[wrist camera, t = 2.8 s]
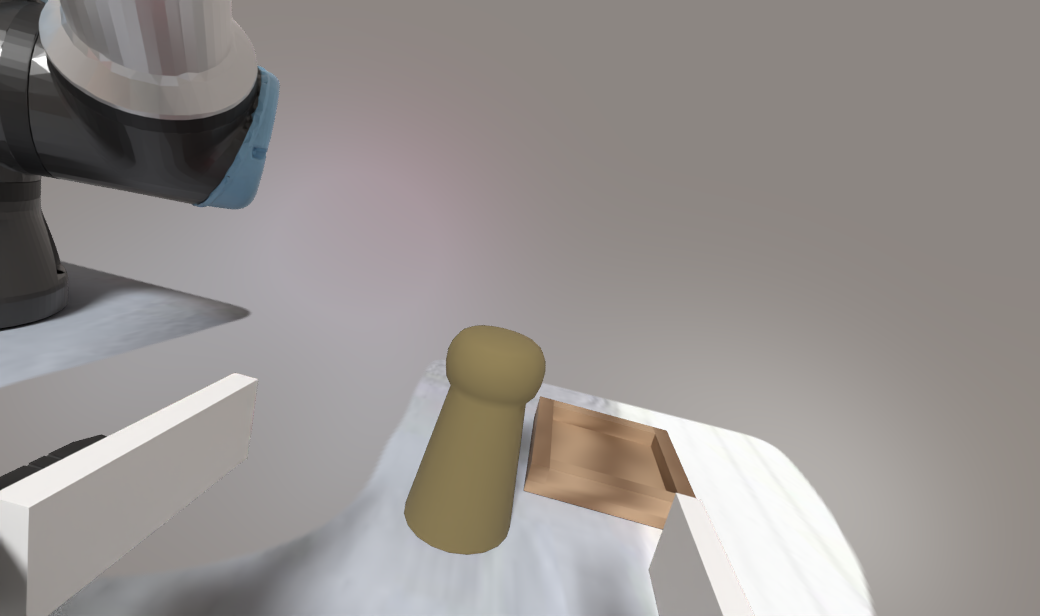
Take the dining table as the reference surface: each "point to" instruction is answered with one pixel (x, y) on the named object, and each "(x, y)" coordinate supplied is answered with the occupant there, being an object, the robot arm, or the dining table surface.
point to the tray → (604, 463)
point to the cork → (476, 442)
